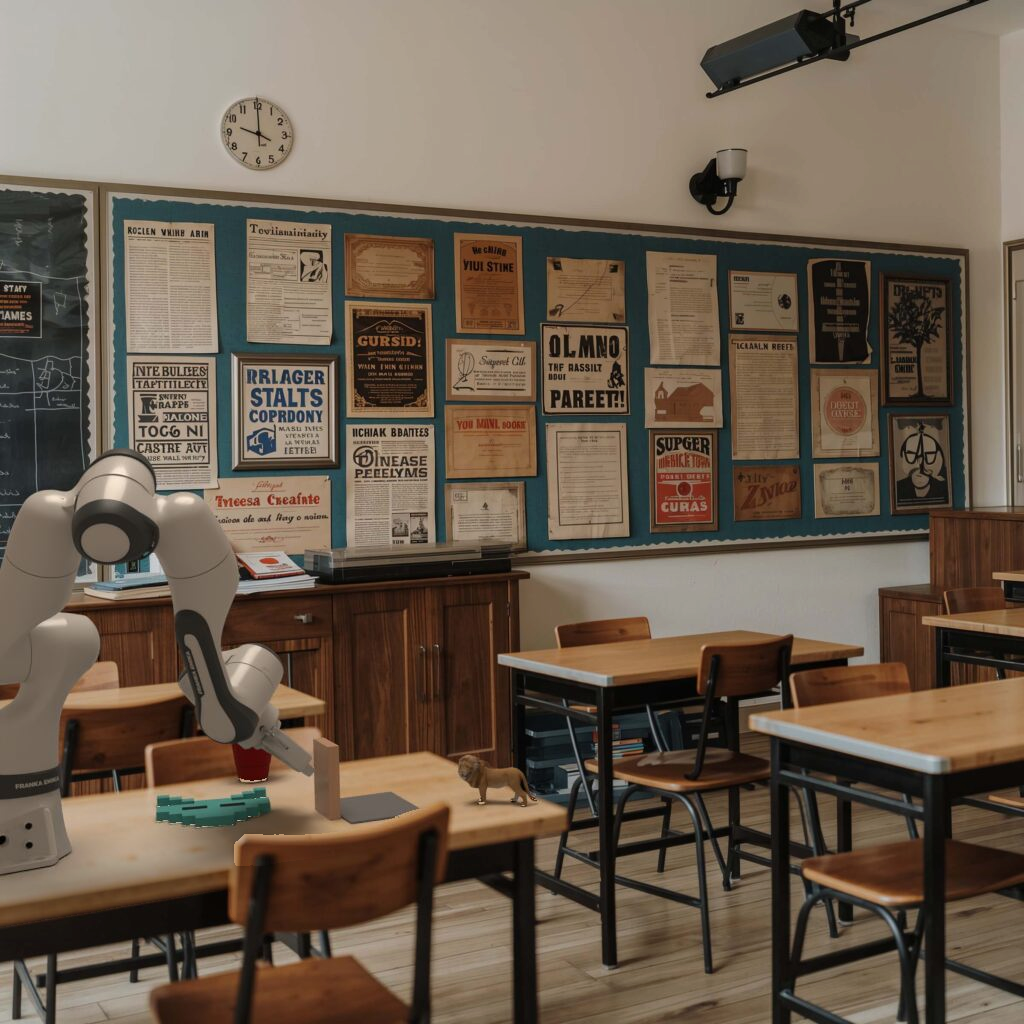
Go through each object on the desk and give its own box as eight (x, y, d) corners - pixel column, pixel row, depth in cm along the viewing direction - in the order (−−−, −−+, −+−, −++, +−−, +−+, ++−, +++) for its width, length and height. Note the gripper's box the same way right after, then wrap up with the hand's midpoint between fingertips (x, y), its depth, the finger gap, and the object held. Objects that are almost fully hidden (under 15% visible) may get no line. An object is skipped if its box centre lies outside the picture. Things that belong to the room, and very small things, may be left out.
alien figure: (157, 807, 231) (155, 834, 212) (157, 795, 231) (155, 821, 212) (265, 798, 237) (273, 824, 217) (265, 786, 237) (273, 811, 217)
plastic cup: (267, 787, 244) (266, 726, 244) (217, 785, 246) (216, 725, 246) (289, 775, 255) (288, 717, 254) (241, 773, 257) (239, 716, 257)
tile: (329, 820, 217) (327, 747, 217) (314, 809, 225) (313, 738, 225) (340, 818, 218) (339, 745, 218) (325, 808, 226) (323, 737, 226)
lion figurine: (456, 807, 225) (455, 757, 225) (460, 800, 230) (459, 752, 230) (536, 807, 223) (535, 757, 223) (539, 800, 228) (538, 751, 228)
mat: (351, 824, 214) (351, 822, 214) (320, 802, 230) (320, 800, 230) (425, 813, 220) (425, 811, 220) (391, 793, 237) (390, 791, 237)
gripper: (282, 718, 207) (339, 769, 212) (252, 701, 226) (306, 749, 230) (257, 747, 205) (315, 798, 210) (229, 728, 224) (283, 775, 228)
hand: (310, 772), depth 220 cm, fingers closed
